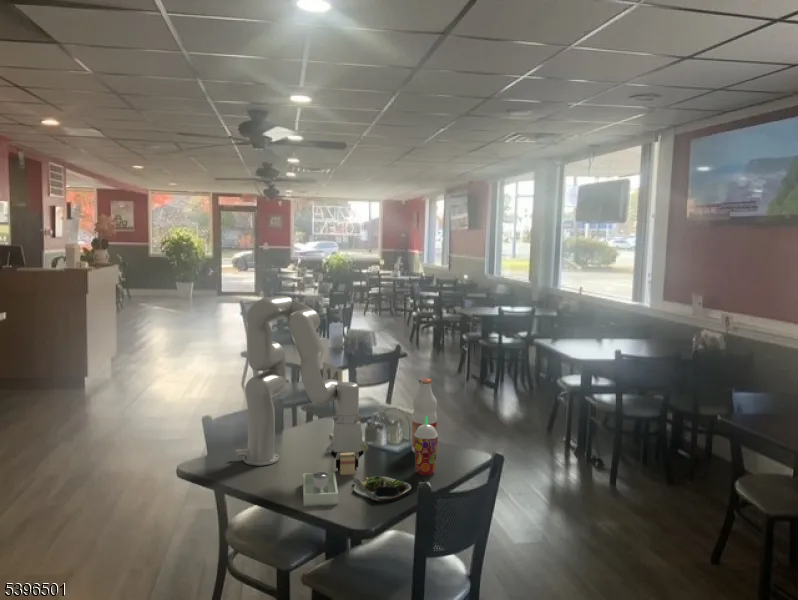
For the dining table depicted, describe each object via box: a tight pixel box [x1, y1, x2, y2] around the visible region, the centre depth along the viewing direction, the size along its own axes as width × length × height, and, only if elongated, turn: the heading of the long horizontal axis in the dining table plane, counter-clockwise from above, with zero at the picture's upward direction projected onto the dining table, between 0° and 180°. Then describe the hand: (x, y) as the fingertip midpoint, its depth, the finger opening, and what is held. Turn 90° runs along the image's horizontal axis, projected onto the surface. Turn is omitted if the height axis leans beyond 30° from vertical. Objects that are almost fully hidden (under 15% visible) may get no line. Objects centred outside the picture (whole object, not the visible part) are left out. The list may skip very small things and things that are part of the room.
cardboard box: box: [339, 452, 356, 476], centre depth 224 cm, size 5×5×6 cm
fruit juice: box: [411, 378, 438, 454], centre depth 246 cm, size 9×9×28 cm
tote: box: [302, 471, 339, 507], centre depth 204 cm, size 10×18×4 cm, turn 9°
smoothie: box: [414, 416, 439, 477], centre depth 224 cm, size 8×8×20 cm
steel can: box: [313, 471, 329, 494], centre depth 200 cm, size 5×5×7 cm
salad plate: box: [353, 475, 413, 503], centre depth 208 cm, size 19×18×5 cm
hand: (347, 469), depth 224 cm, fingers closed on cardboard box, 5 cm apart
